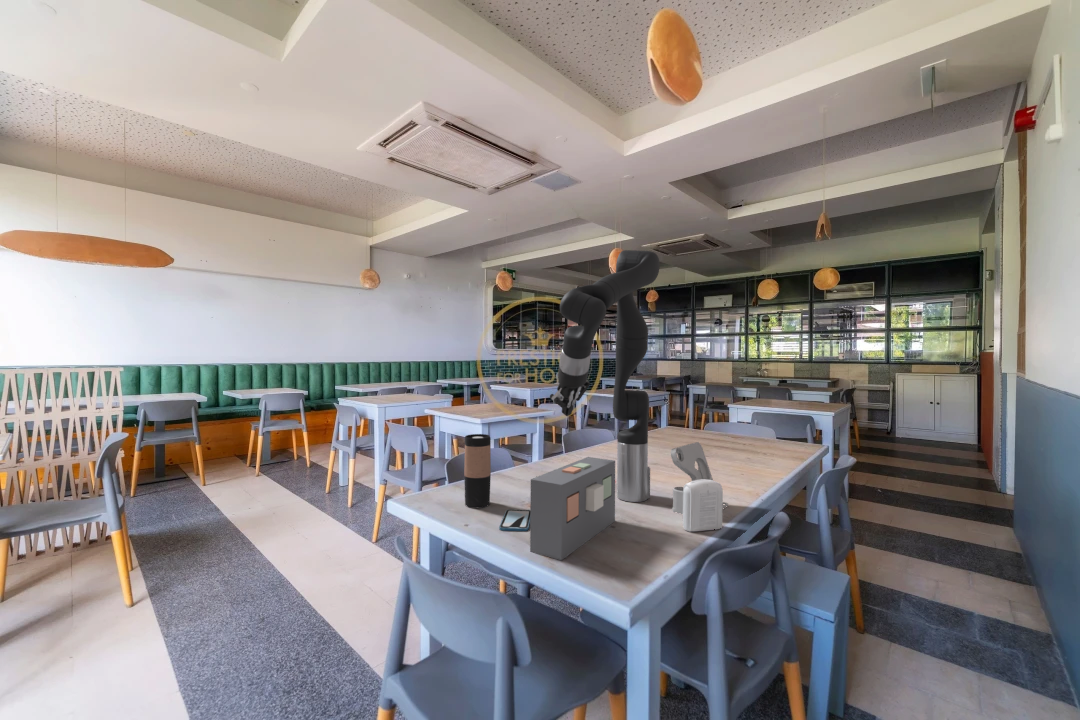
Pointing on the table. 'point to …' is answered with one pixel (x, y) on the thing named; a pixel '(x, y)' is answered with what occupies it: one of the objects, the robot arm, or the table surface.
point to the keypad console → (551, 507)
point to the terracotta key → (572, 506)
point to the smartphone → (515, 520)
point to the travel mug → (477, 470)
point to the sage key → (607, 486)
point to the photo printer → (702, 505)
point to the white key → (594, 496)
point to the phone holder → (689, 469)
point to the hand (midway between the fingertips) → (566, 413)
